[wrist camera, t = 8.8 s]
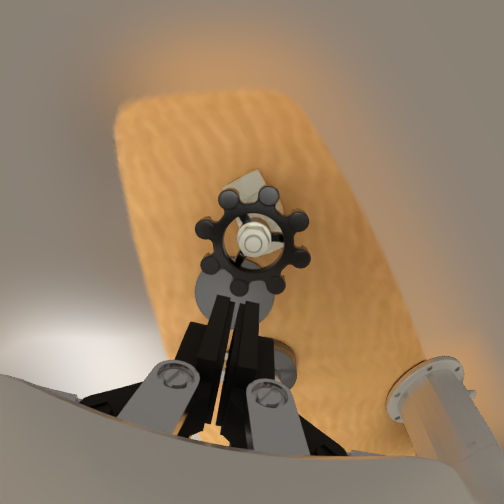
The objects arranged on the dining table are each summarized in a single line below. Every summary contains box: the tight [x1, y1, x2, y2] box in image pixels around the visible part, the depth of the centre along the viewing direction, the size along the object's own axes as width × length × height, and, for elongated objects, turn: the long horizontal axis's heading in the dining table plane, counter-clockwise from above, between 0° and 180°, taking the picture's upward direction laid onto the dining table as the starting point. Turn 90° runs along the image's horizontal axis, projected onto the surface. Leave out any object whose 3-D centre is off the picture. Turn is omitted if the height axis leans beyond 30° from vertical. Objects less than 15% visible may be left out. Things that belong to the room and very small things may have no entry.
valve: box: [195, 169, 311, 297], centre depth 22 cm, size 7×7×12 cm
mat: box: [195, 257, 274, 329], centre depth 30 cm, size 8×8×1 cm
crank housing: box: [225, 340, 297, 390], centre depth 30 cm, size 12×7×7 cm, turn 78°
